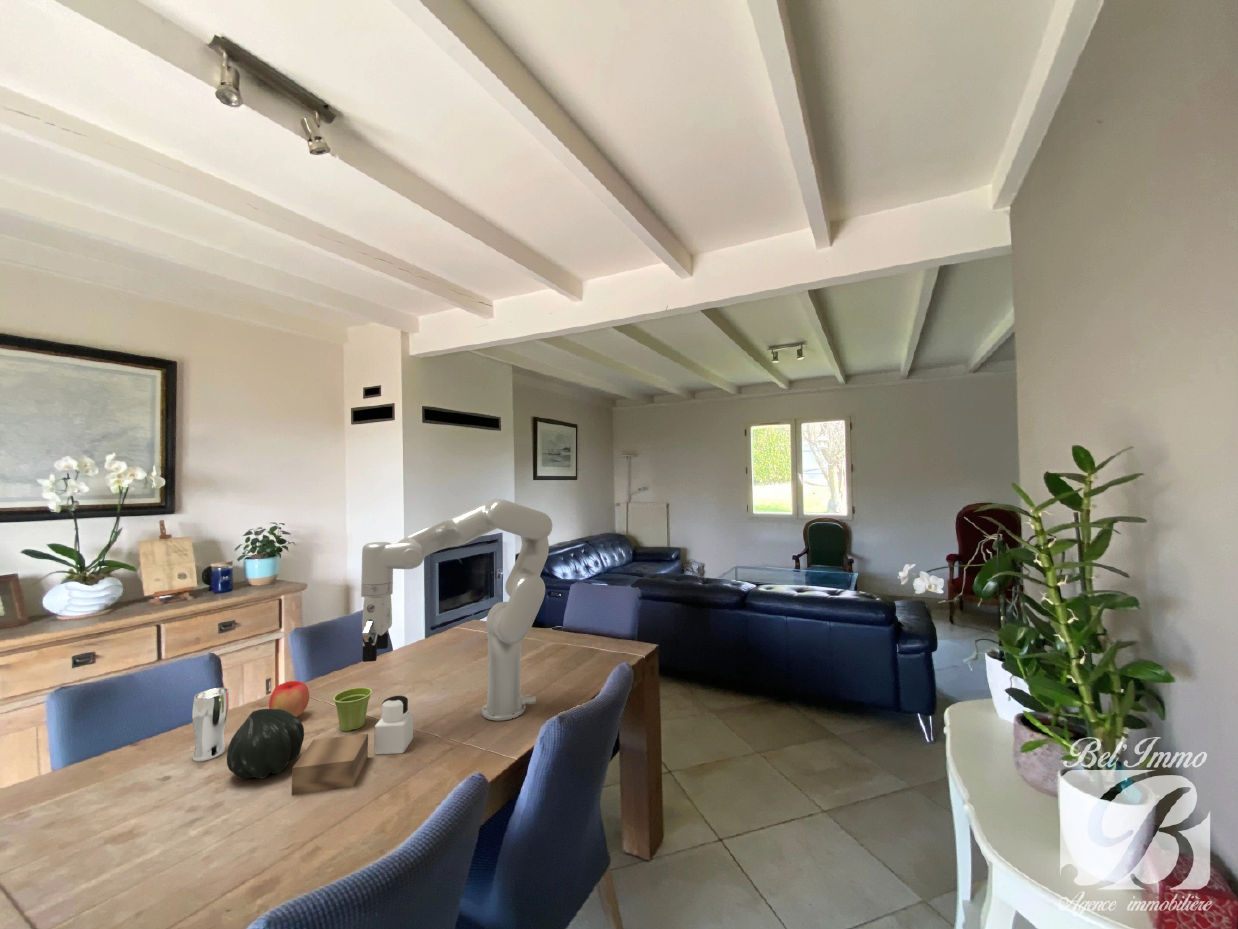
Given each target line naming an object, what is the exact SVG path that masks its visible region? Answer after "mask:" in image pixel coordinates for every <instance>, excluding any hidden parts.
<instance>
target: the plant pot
mask: <svg viewBox="0 0 1238 929" xmlns="http://www.w3.org/2000/svg"><path fill="white" fill-rule="evenodd" d="M372 693H373V689H371V688H369V687H353V688H349V689H346V690H343V691H340V692H338V693H336V694H335V695H334V696H333V697H332V698H333V702H334V703H335V706H336V709H337V710H336V711H337V717H338V726H339V730H340V731H342V732H350V731H352V730H358V729H360V728H362V727H363V726H364V725H365V723H366V718H367V710H368V705H369V701H370V698H371V695H372Z"/></svg>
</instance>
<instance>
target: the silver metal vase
mask: <svg viewBox="0 0 1238 929" xmlns="http://www.w3.org/2000/svg"><path fill="white" fill-rule="evenodd" d="M229 709H230V695H229V688H227V687H216V688H211V689H205V690H202V691H201V692H198V693H197V694H195V695H194V697H193V704H192V713H191V714H192V715H191V717H192V729H193V733H194V737H195V738H194V739H195V747H194V751H193V755H192V760H193V761H194V762H204V761H205V762H206V761H210V760H213V759H216V758H217V757H219V756H221V755H222V754H224V753H225V751H226V746H225V742H224V741H225V739H224V734H225V729H226V726H227V721H228V717H229Z"/></svg>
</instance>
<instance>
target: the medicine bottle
mask: <svg viewBox="0 0 1238 929" xmlns="http://www.w3.org/2000/svg"><path fill="white" fill-rule="evenodd" d="M408 701H409V698H408V697H406V696H405V695H394V696H393V695H392V696H390V697H388V698H386V699H384V701H382V702H381V717H380V719H379V721H378V722H376V724H375V725H374V742H373V743H374V746H373V750H374V752H373V754H374V755H393V754H404V752H405V751H406V750H407V748H408V746H409V745H410V743H411V742H412V741H413V739H414V712H413V711H408V710H409V704H408V703H409V702H408Z"/></svg>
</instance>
